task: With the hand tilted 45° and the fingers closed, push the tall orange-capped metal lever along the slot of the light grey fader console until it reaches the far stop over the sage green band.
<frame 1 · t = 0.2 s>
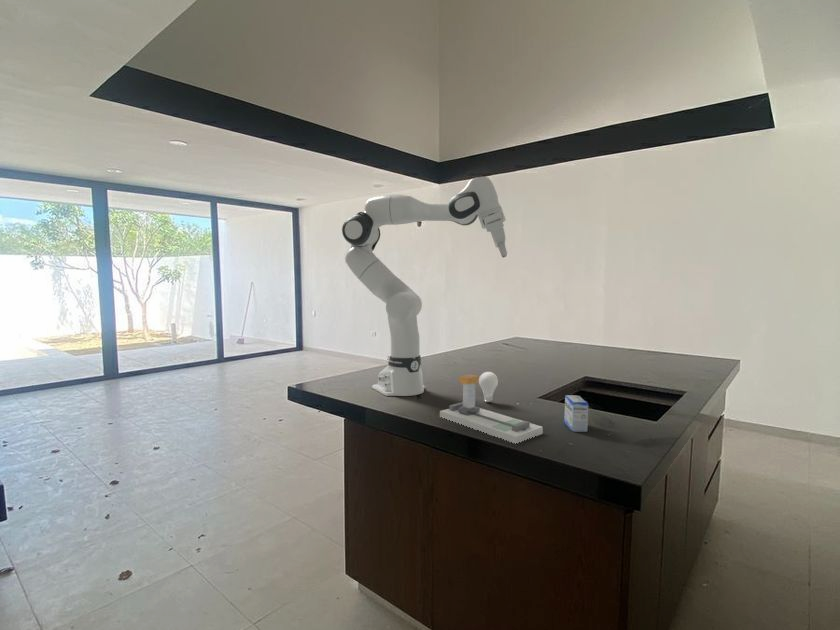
hand: (504, 256, 159), 52 cm above the worktop, tool tilted 20°, fingers open, 8 cm apart
fader console: (488, 424, 132), on the worktop
light bulb: (488, 403, 155), on the worktop
medicine box: (575, 428, 129), on the worktop
fader lever: (469, 393, 137), point 8 cm above the worktop, slide at 0.0 cm
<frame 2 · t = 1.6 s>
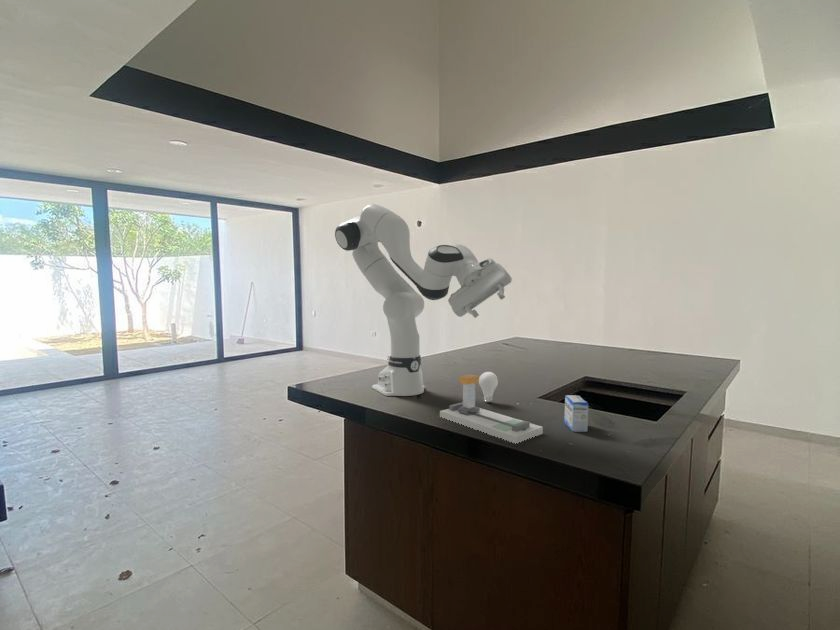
hand: (489, 306, 130), 35 cm above the worktop, tool tilted 55°, fingers open, 8 cm apart
nothing on the worktop moved.
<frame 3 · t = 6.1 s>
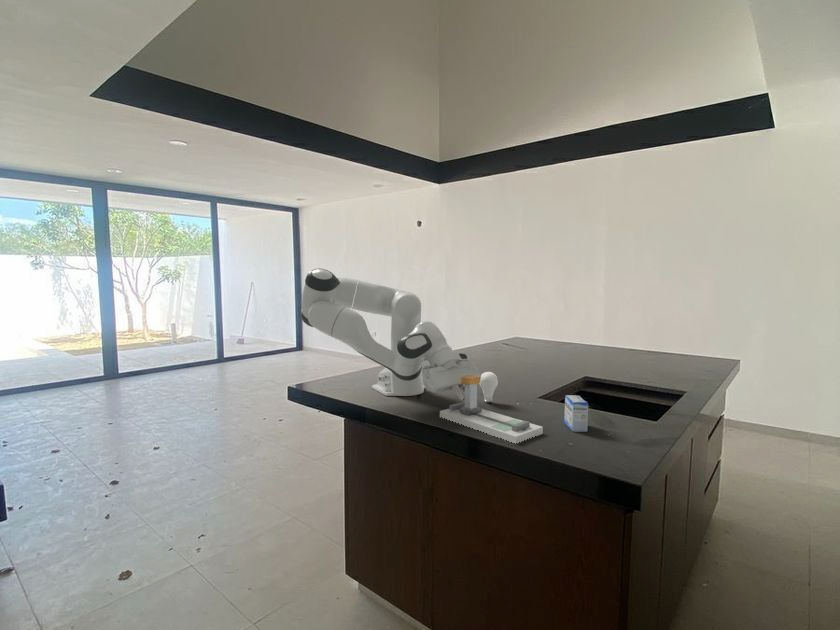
hand: (465, 398, 138), 6 cm above the worktop, tool tilted 45°, fingers closed, pressing on fader lever
fader lever: (470, 394, 137), point 8 cm above the worktop, slide at 0.8 cm, touching gripper
everything else where it was.
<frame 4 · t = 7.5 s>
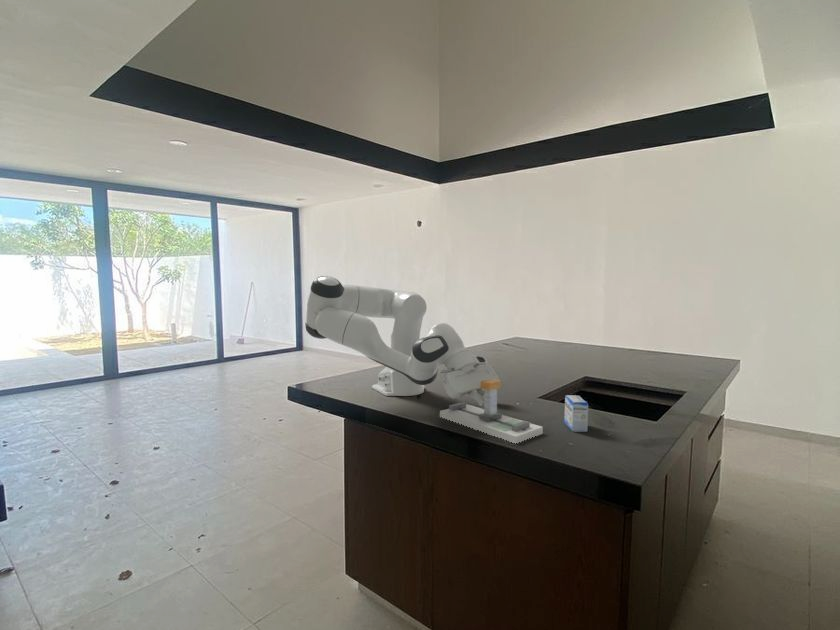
hand: (484, 403, 132), 6 cm above the worktop, tool tilted 45°, fingers closed, pressing on fader lever
fader lever: (490, 399, 130), point 8 cm above the worktop, slide at 8.8 cm, touching gripper
everything else where it was.
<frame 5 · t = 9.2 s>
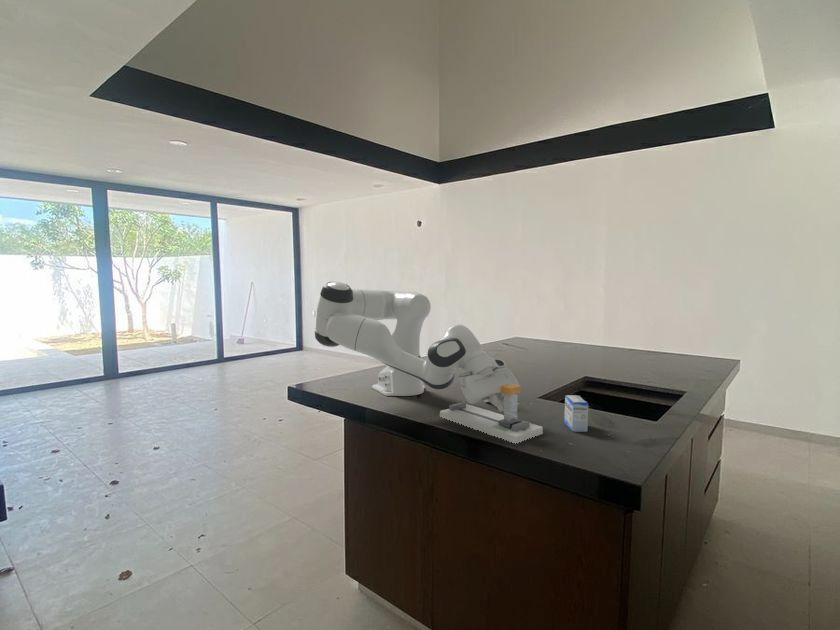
hand: (505, 409, 126), 6 cm above the worktop, tool tilted 45°, fingers closed, pressing on fader lever
fader lever: (510, 405, 125), point 8 cm above the worktop, slide at 16.4 cm, touching gripper
everything else where it was.
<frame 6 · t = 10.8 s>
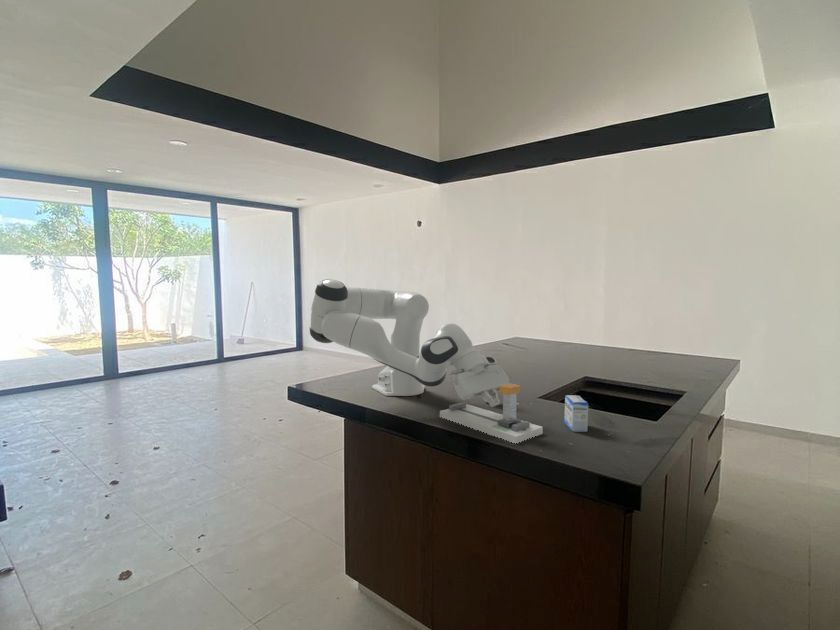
hand: (496, 404, 130), 6 cm above the worktop, tool tilted 45°, fingers closed
fader lever: (509, 404, 125), point 8 cm above the worktop, slide at 16.0 cm
everything else where it was.
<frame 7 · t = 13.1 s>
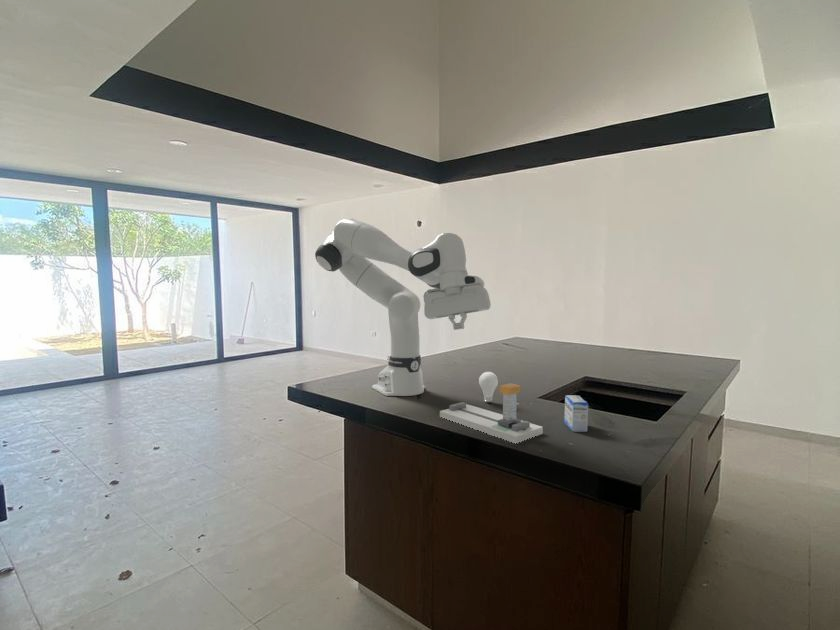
hand: (458, 329, 131), 29 cm above the worktop, tool tilted 15°, fingers closed
nothing on the worktop moved.
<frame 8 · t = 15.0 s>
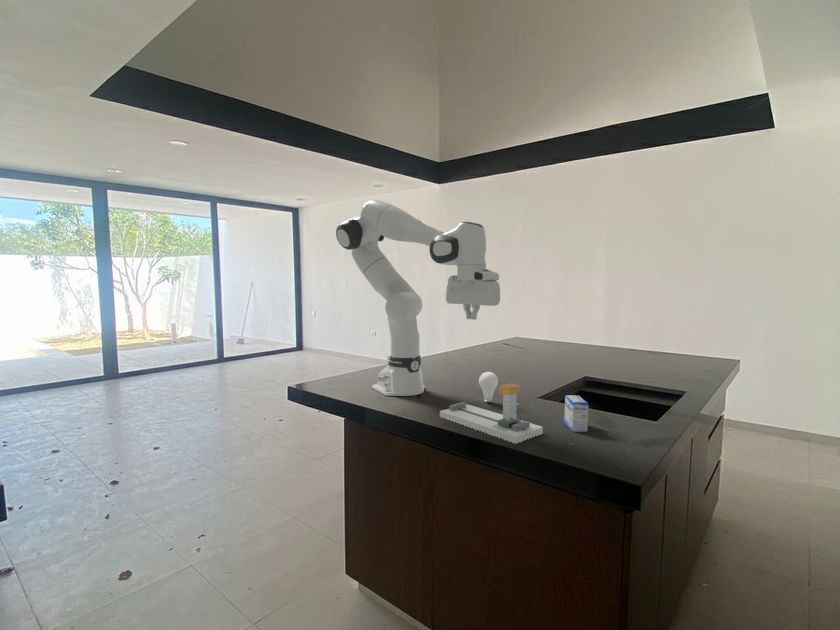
hand: (471, 319, 137), 31 cm above the worktop, tool pointing down, fingers closed
nothing on the worktop moved.
at the end: fader lever slide at 16.0 cm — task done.
